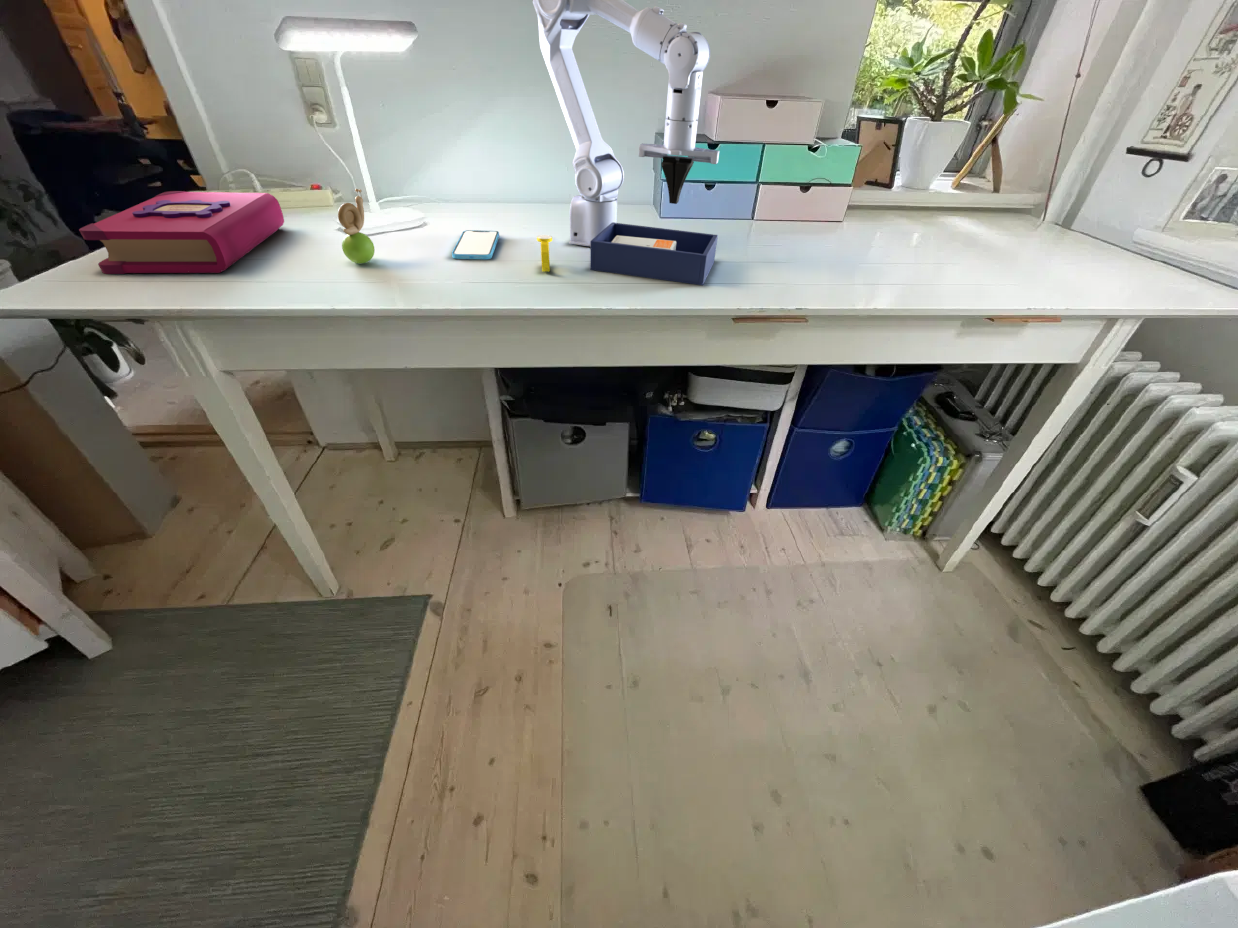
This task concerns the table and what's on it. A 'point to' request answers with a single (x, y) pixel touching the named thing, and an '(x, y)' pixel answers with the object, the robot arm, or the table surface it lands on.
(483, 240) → the smartphone
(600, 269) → the bin
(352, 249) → the snail figurine
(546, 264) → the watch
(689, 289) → the table surface
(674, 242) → the cosmetic box
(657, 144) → the robot arm
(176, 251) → the book
